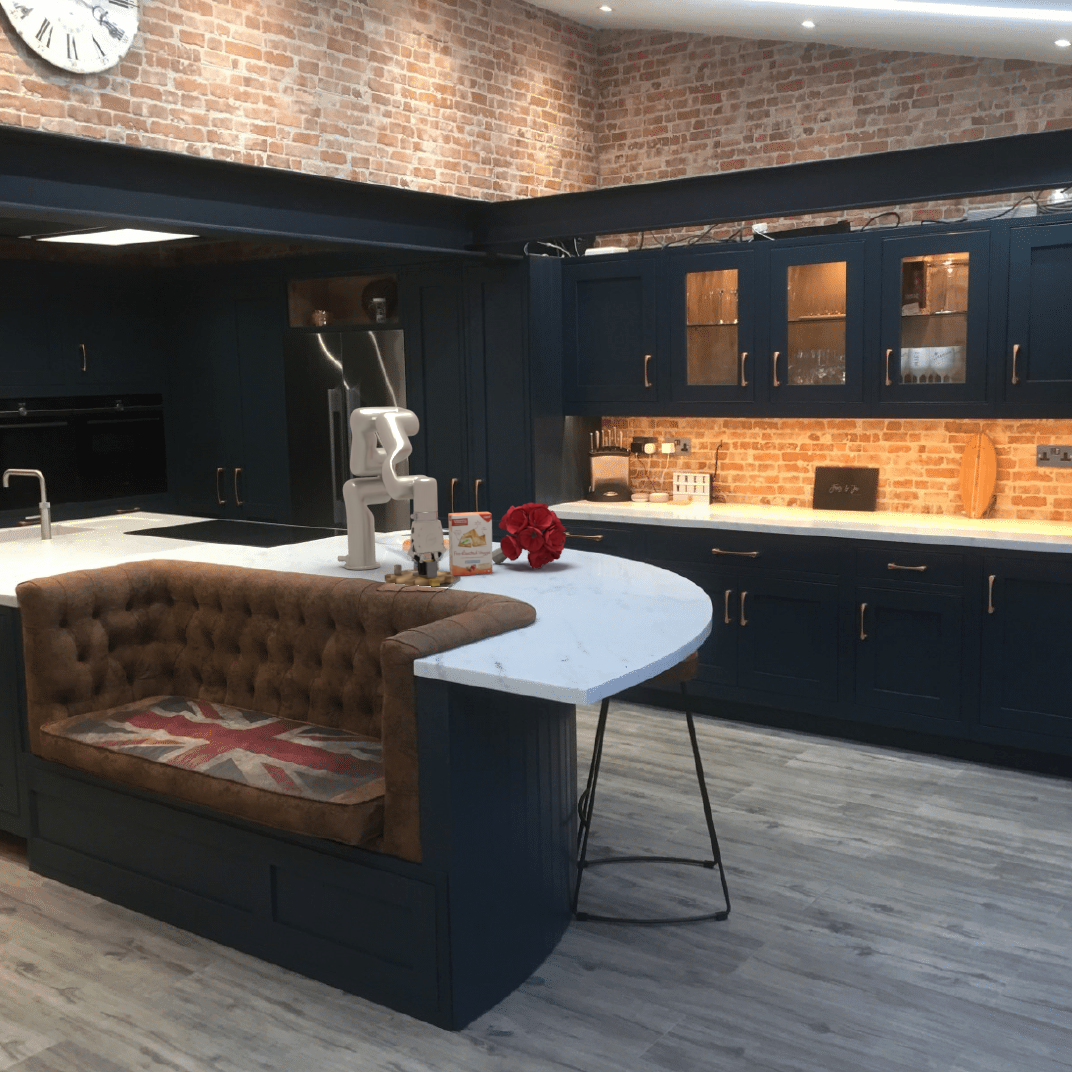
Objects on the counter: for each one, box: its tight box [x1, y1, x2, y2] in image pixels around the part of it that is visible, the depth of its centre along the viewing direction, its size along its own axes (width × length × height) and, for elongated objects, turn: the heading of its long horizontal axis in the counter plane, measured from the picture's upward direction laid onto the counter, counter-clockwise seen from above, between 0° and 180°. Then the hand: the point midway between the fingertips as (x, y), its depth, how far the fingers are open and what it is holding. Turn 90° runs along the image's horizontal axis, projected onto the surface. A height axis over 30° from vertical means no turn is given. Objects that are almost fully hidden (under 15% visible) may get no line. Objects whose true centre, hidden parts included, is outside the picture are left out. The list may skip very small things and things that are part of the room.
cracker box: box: [448, 511, 493, 577], centre depth 396 cm, size 14×6×21 cm, turn 105°
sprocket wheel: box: [384, 564, 454, 587], centre depth 378 cm, size 22×22×5 cm
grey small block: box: [418, 558, 438, 578], centre depth 373 cm, size 6×4×5 cm, turn 35°
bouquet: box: [492, 502, 567, 570], centre depth 409 cm, size 22×24×30 cm
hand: (427, 573), depth 373 cm, fingers closed on grey small block, 3 cm apart
